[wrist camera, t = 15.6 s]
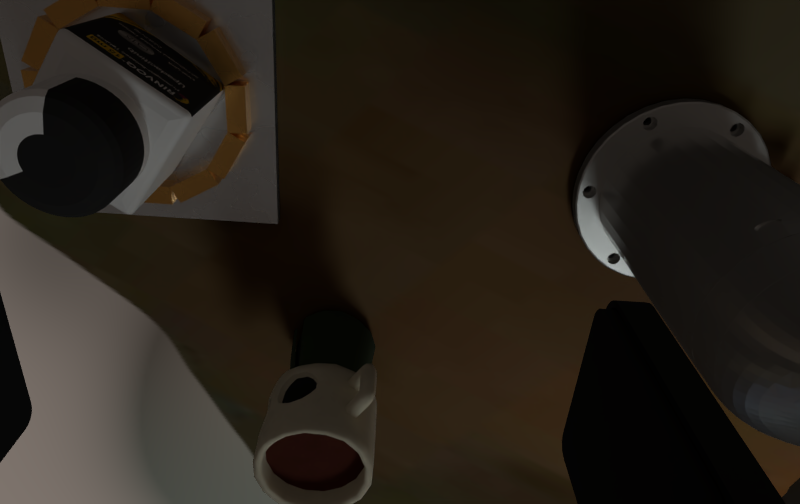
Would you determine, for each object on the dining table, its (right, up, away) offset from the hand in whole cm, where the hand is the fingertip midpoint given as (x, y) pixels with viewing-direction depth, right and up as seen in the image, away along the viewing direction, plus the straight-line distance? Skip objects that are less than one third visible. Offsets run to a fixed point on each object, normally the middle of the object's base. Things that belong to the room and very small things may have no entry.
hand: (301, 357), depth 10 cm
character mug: (-4, -5, +37) cm, 38 cm away
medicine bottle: (-14, +11, +28) cm, 33 cm away
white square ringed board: (-14, +12, +28) cm, 34 cm away
